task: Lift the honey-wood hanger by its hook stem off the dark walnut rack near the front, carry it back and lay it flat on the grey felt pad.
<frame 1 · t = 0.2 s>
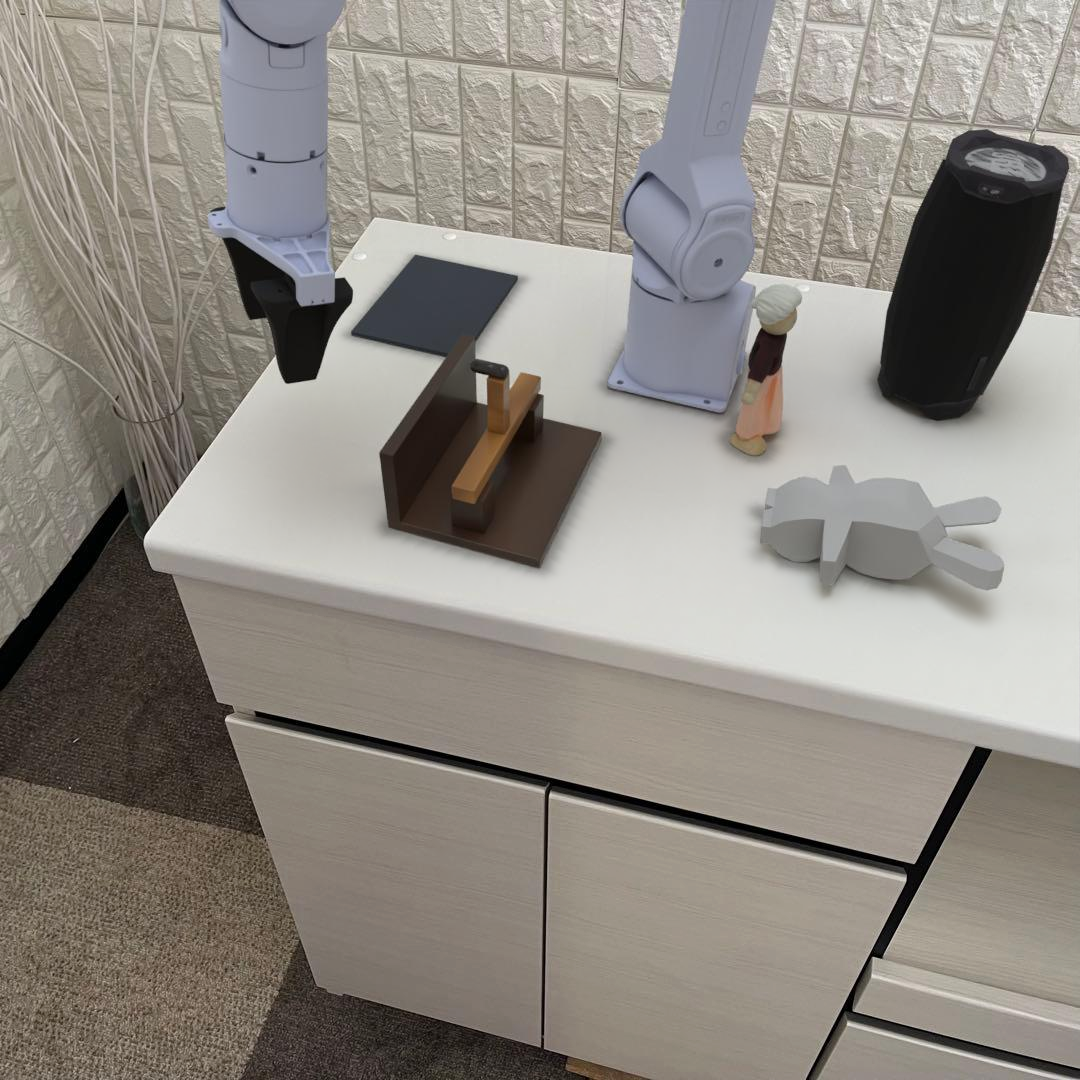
hand: (280, 346, 69), 11 cm above the cabinet, tool pointing down, fingers open, 7 cm apart
portable speaker: (926, 391, 84), on the cabinet
grandmother figurine: (752, 433, 80), on the cabinet
pad: (437, 306, 91), on the cabinet
hanger: (499, 441, 73), point 4 cm above the cabinet, touching rack
rack: (499, 481, 76), on the cabinet
bunny figurine: (869, 556, 71), on the cabinet
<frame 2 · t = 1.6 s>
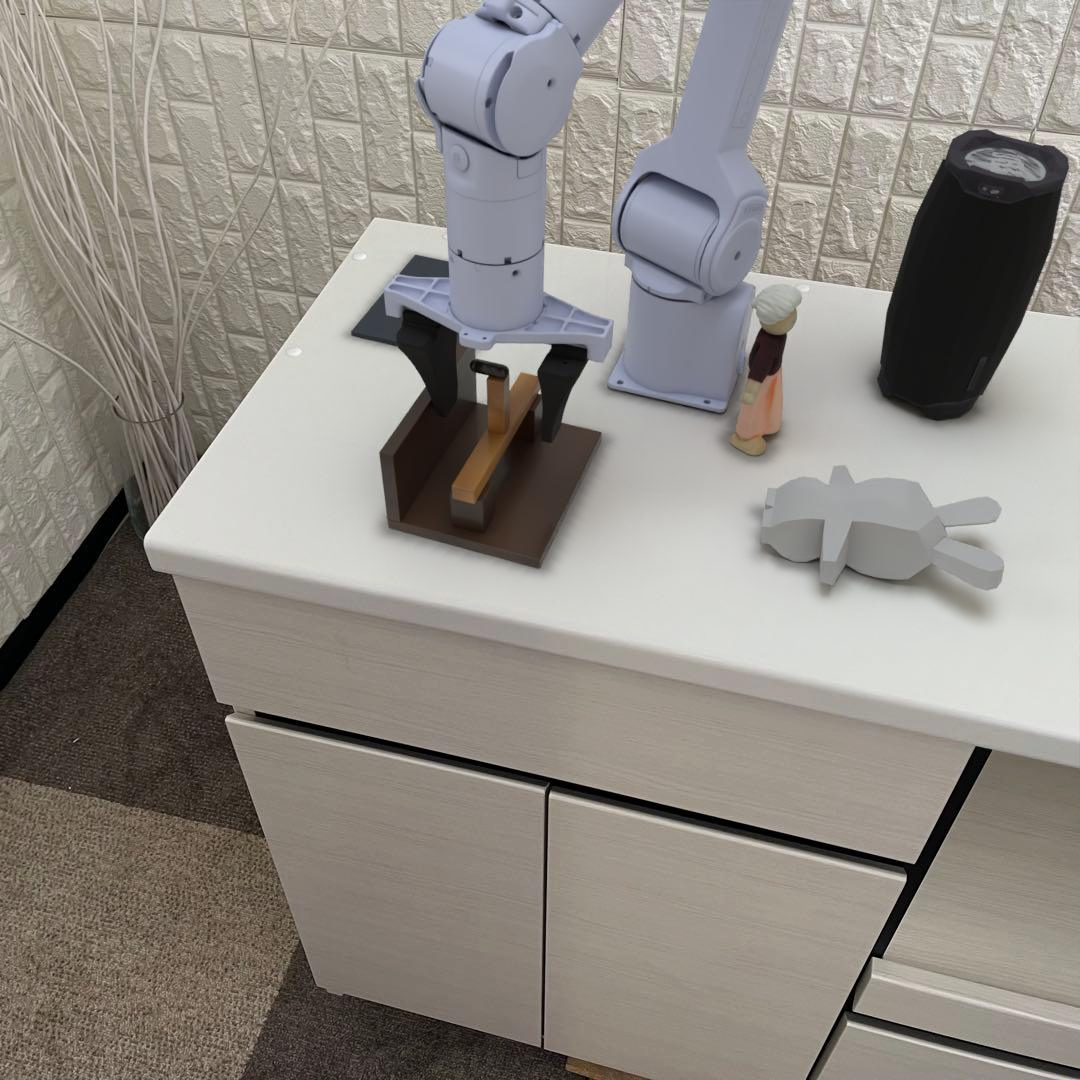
hand: (498, 420, 72), 6 cm above the cabinet, tool pointing down, fingers open, 7 cm apart
nothing on the cabinet moved.
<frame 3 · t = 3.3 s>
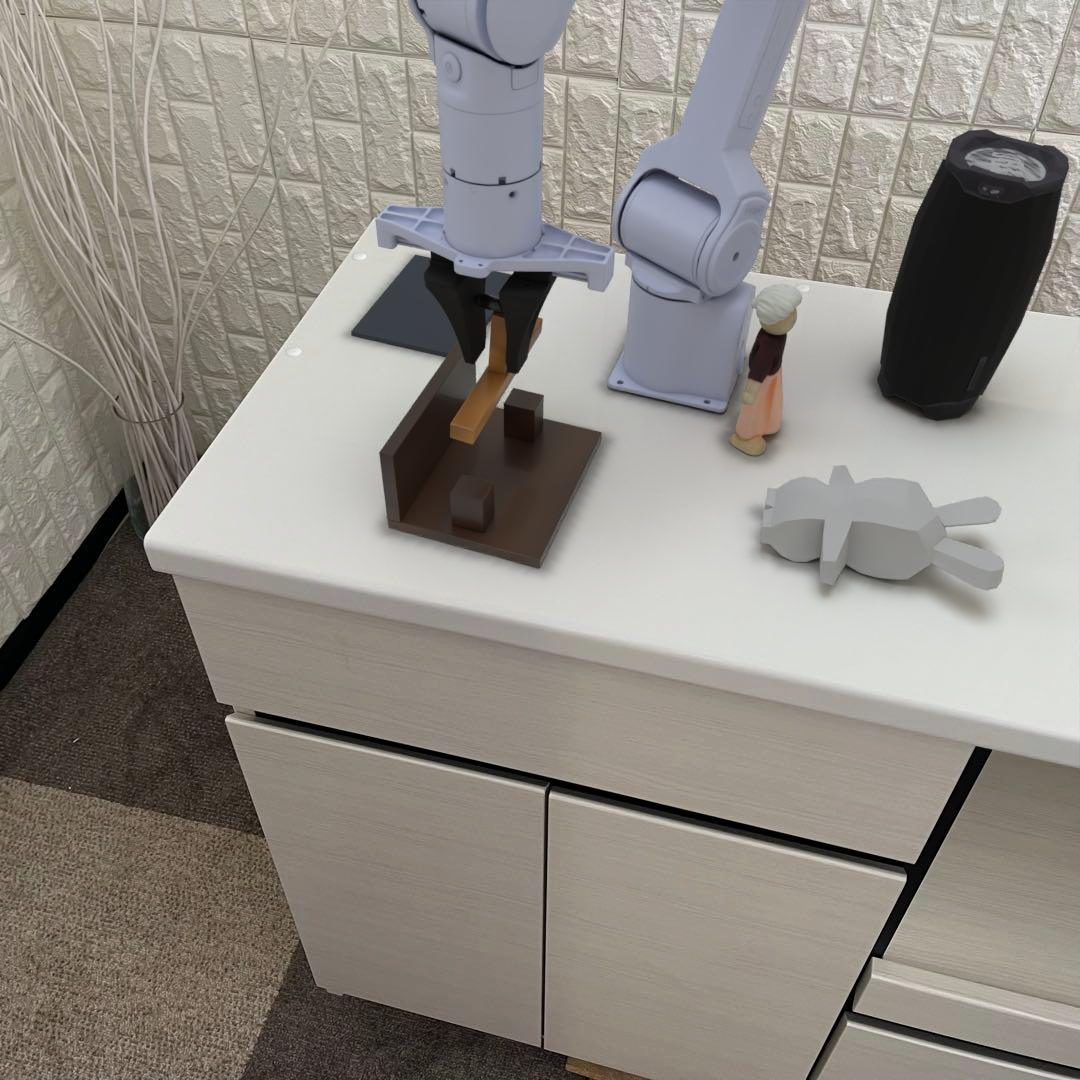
hand: (495, 359, 69), 10 cm above the cabinet, tool pointing down, fingers closed on hanger, 2 cm apart
hanger: (498, 382, 70), point 8 cm above the cabinet, touching gripper
everything else where it was.
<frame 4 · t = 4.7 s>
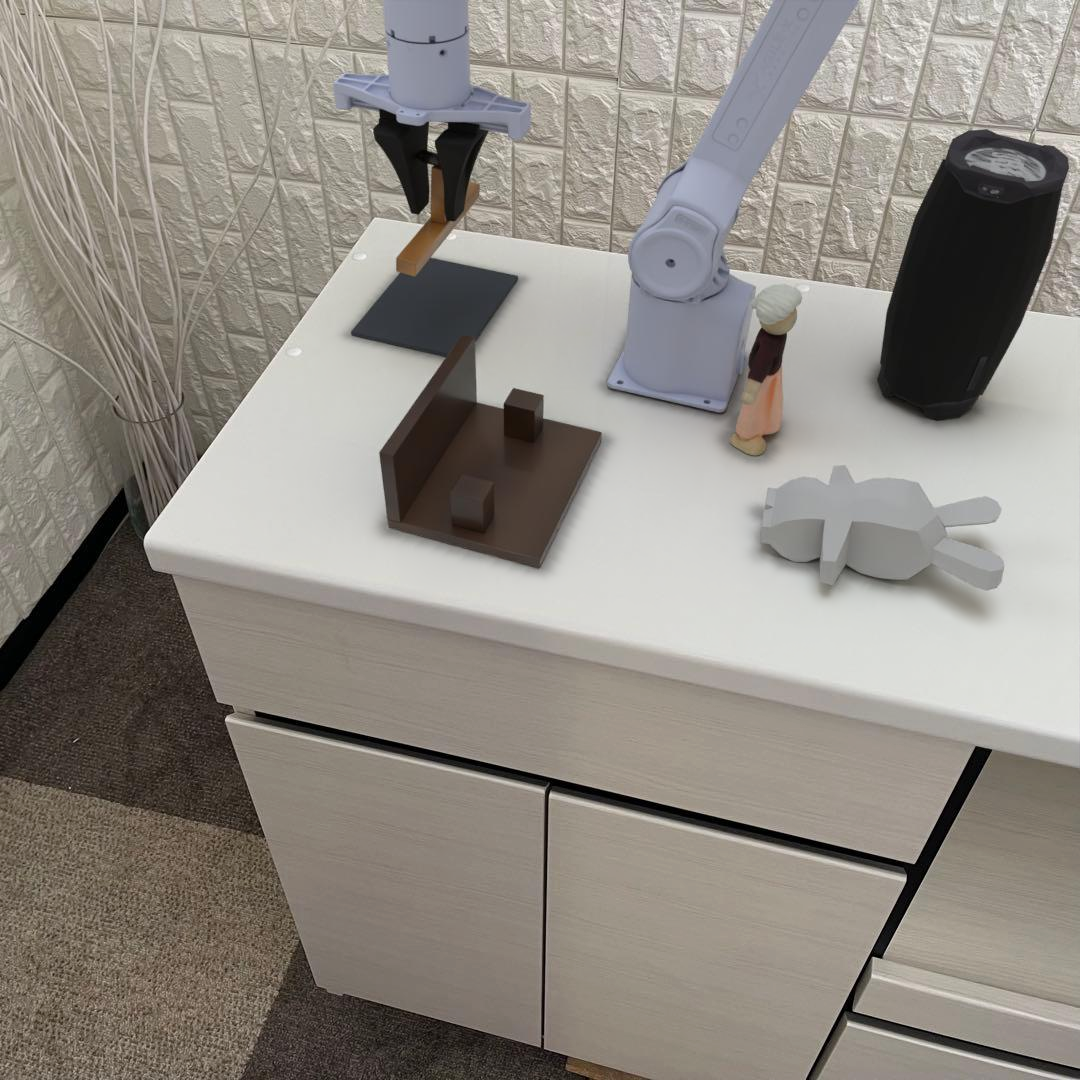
hand: (437, 211, 82), 10 cm above the cabinet, tool pointing down, fingers closed on hanger, 2 cm apart
hanger: (439, 232, 83), point 9 cm above the cabinet, touching gripper
everything else where it was.
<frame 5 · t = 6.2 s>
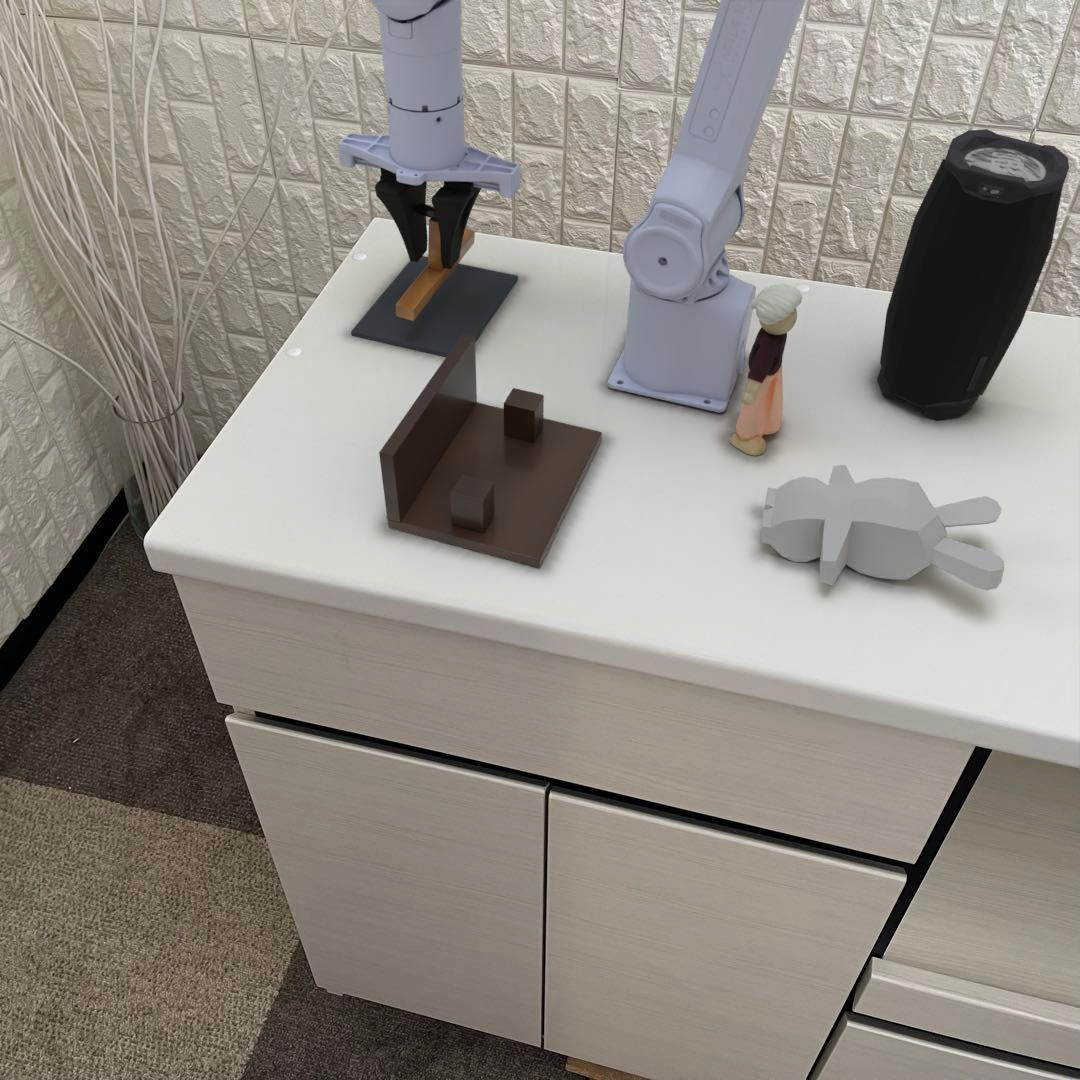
hand: (434, 259, 88), 5 cm above the cabinet, tool pointing down, fingers closed on hanger, 2 cm apart
hanger: (436, 277, 89), point 3 cm above the cabinet, touching gripper
everything else where it was.
when the fingers open (2 cm above the cabinet, at t = 7.2 s): hanger stays where it is, resting on pad.
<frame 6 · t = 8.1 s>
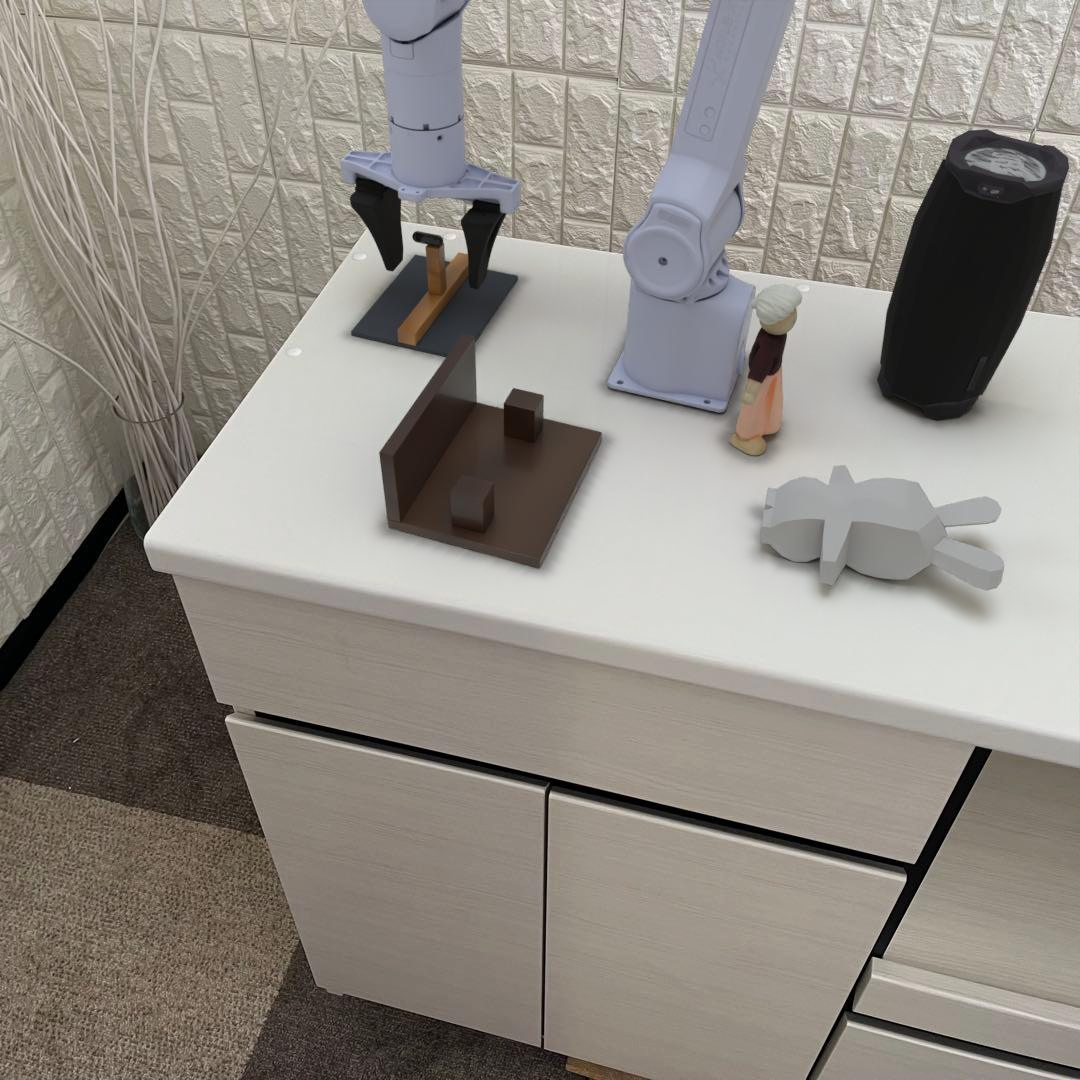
hand: (435, 273, 89), 3 cm above the cabinet, tool pointing down, fingers open, 7 cm apart
hanger: (438, 303, 91), resting on pad
everything else where it was.
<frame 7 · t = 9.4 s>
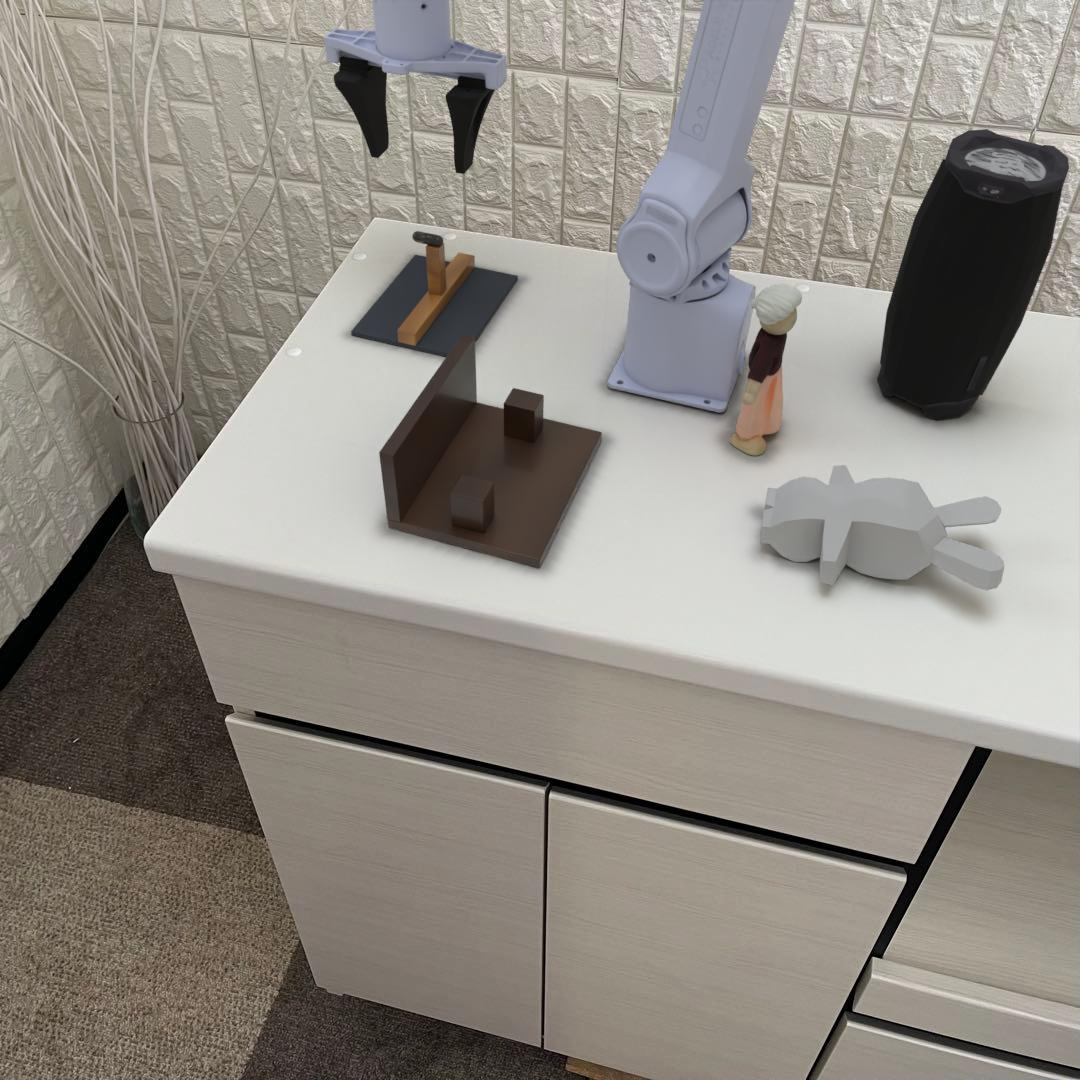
hand: (421, 160, 88), 10 cm above the cabinet, tool pointing down, fingers open, 7 cm apart
nothing on the cabinet moved.
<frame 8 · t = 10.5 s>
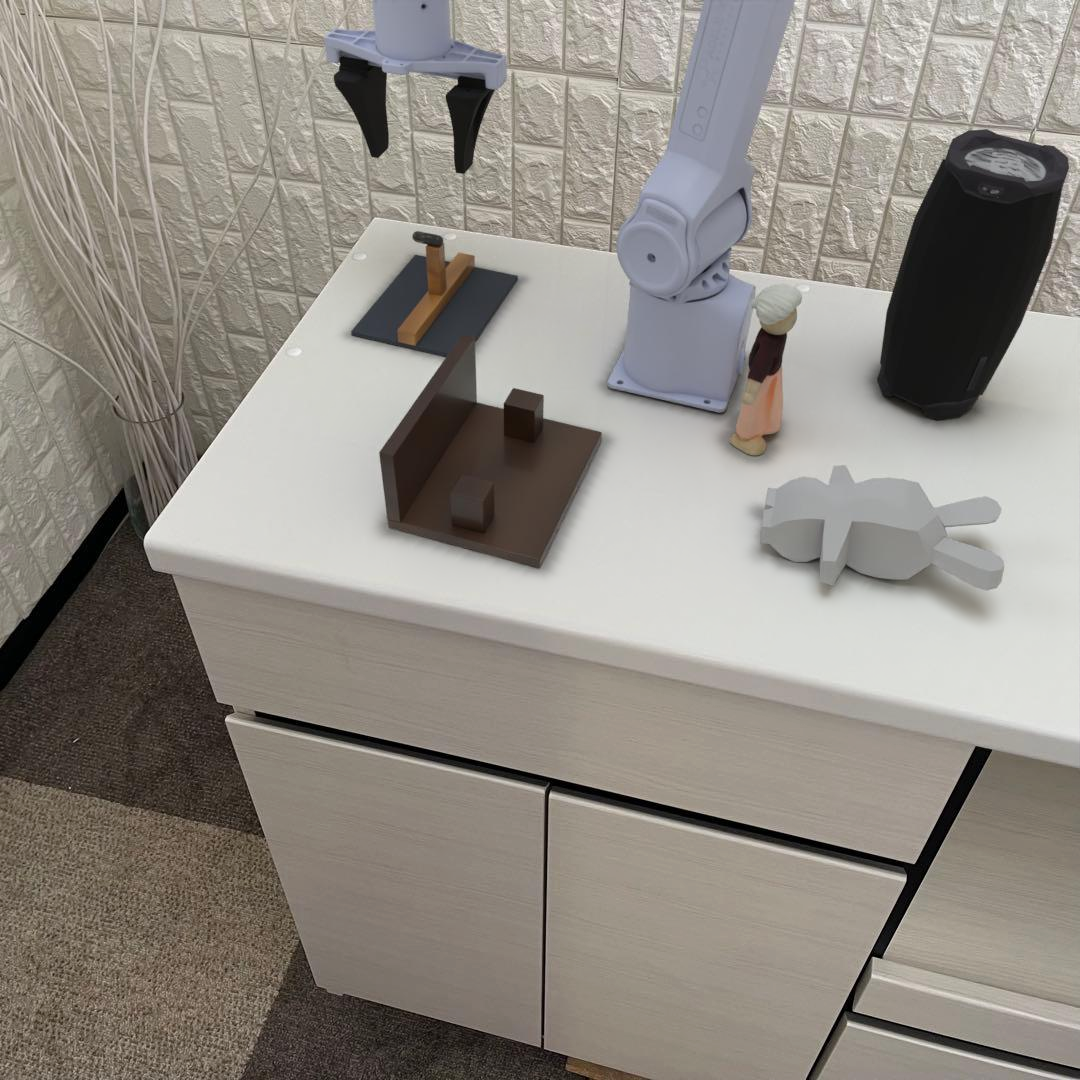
hand: (421, 160, 88), 10 cm above the cabinet, tool pointing down, fingers open, 7 cm apart
nothing on the cabinet moved.
at the end: hanger inside the target area on the pad (0.1 cm from its centre), point 0.4 cm above the pad's base; hanger tilted 0°; hanger touching pad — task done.
